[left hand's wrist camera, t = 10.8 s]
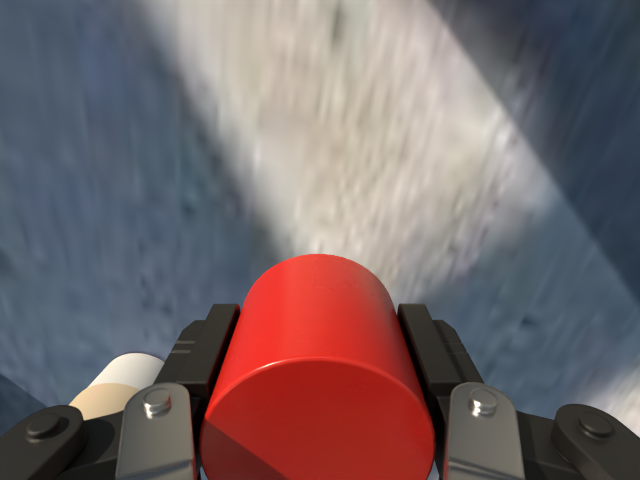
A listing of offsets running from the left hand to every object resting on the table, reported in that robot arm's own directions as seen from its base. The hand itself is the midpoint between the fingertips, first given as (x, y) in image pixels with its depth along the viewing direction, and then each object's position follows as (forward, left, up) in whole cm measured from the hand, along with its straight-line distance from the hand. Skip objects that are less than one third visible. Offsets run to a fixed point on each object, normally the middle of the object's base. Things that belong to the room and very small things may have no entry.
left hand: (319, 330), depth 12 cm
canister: (0, 0, 0) cm, 0 cm away
